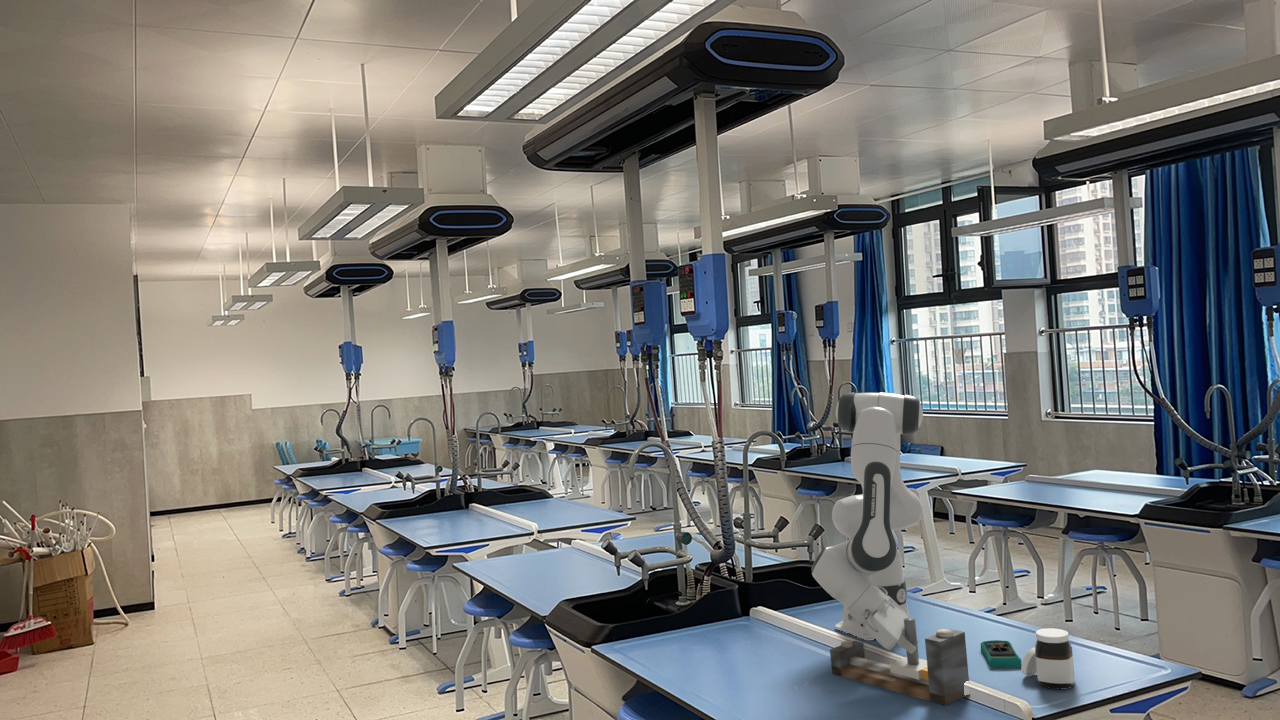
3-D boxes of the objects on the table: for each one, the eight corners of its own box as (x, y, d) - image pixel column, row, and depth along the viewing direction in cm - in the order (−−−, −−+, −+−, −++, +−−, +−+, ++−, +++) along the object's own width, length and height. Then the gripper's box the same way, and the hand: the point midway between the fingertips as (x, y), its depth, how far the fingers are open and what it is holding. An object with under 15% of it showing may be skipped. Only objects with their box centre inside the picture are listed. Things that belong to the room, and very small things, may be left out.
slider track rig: (832, 673, 230) (826, 613, 231) (856, 664, 236) (851, 605, 236) (945, 705, 204) (939, 638, 204) (970, 694, 209) (964, 628, 209)
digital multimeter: (1010, 650, 237) (1009, 638, 237) (1022, 669, 223) (1021, 657, 223) (980, 651, 239) (979, 639, 239) (990, 670, 224) (989, 658, 224)
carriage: (890, 672, 217) (885, 619, 217) (909, 664, 221) (904, 613, 221) (918, 679, 210) (914, 625, 211) (937, 671, 215) (933, 618, 215)
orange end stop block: (921, 678, 211) (920, 669, 211) (935, 672, 214) (934, 664, 214) (932, 681, 209) (932, 672, 209) (946, 675, 212) (945, 666, 212)
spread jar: (1073, 693, 205) (1068, 640, 205) (1018, 688, 210) (1013, 637, 210) (1077, 675, 215) (1073, 624, 215) (1025, 671, 221) (1020, 622, 221)
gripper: (870, 608, 209) (919, 653, 205) (883, 585, 228) (928, 626, 224) (852, 627, 211) (900, 672, 207) (866, 603, 229) (911, 644, 226)
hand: (915, 648), depth 216 cm, fingers open, 3 cm apart
